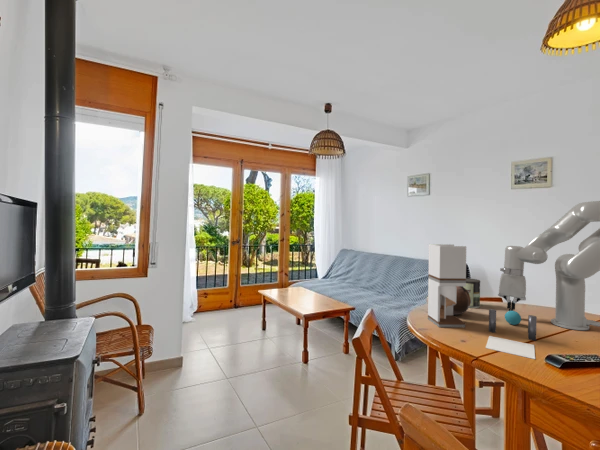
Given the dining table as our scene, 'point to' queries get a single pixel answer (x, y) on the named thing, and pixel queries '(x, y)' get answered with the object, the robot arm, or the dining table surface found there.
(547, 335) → the dining table surface
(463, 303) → the wooden sphere
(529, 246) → the robot arm
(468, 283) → the coffee can
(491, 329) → the left post
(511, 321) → the ball
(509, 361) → the dining table surface
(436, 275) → the white tower on base
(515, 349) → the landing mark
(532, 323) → the right post
